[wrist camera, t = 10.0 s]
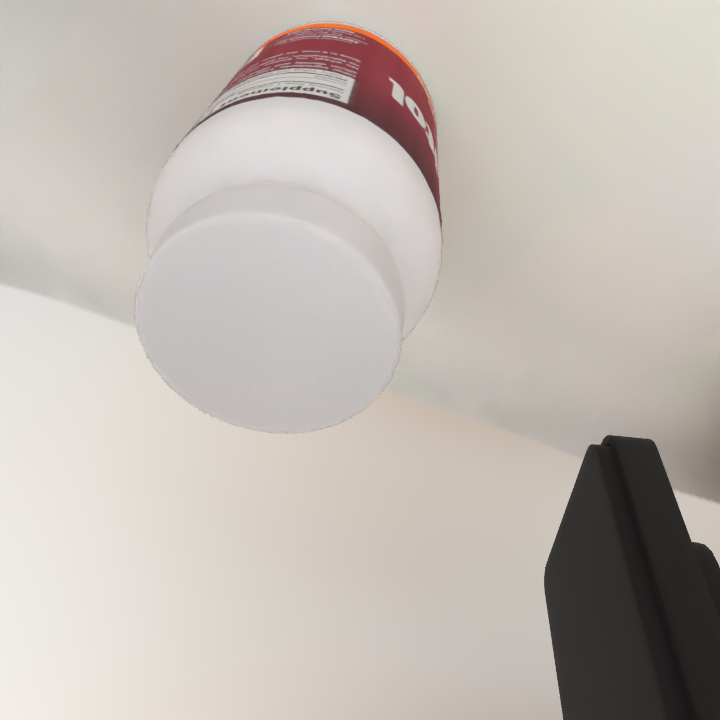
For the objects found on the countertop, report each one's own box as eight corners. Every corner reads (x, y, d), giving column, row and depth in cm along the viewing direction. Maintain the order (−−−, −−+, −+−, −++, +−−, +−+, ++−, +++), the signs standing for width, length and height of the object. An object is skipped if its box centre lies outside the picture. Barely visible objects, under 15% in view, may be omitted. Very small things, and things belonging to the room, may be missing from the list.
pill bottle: (441, 215, 22) (451, 465, 13) (255, 228, 23) (150, 471, 14) (432, 1, 18) (439, 154, 10) (210, 26, 19) (29, 186, 10)
